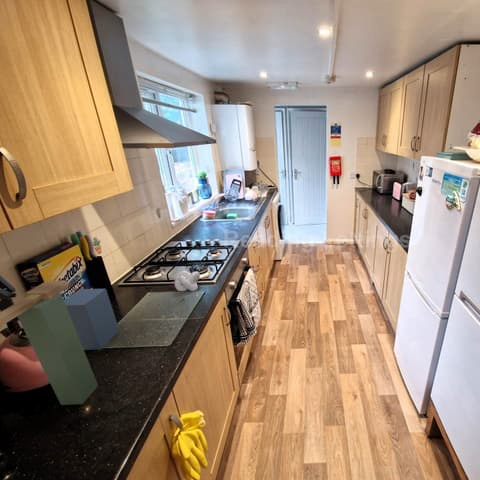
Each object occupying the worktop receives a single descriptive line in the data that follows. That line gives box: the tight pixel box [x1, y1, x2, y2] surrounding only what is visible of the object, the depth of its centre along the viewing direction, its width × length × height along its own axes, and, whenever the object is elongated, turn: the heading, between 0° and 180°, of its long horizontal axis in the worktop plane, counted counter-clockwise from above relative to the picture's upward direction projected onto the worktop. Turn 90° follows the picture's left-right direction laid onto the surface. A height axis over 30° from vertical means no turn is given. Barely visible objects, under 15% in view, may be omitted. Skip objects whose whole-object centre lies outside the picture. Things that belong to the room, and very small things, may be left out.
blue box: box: [63, 288, 120, 351], centre depth 95 cm, size 9×10×20 cm
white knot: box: [173, 270, 201, 292], centre depth 132 cm, size 11×12×9 cm
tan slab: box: [0, 280, 70, 328], centre depth 62 cm, size 18×5×2 cm, turn 3°
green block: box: [17, 293, 99, 406], centre depth 72 cm, size 6×6×34 cm
